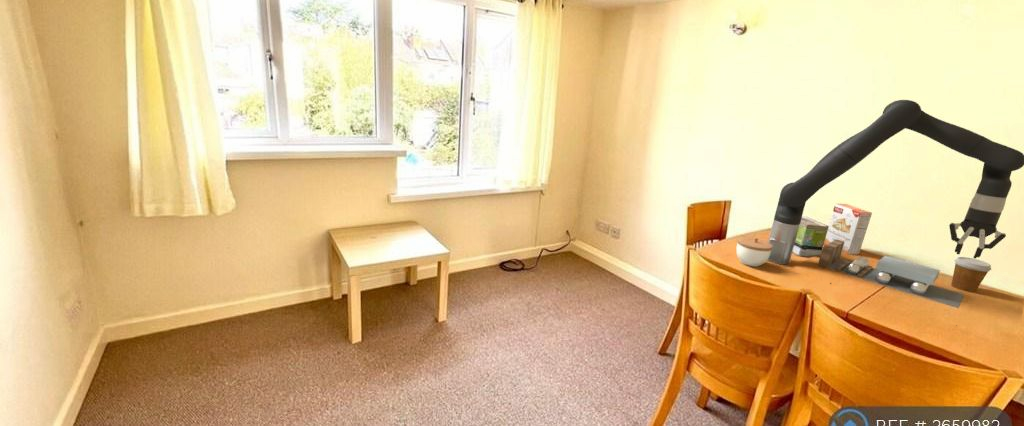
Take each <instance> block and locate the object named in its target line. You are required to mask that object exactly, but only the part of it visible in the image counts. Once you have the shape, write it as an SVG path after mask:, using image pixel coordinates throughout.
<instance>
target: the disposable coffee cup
mask: <svg viewBox="0 0 1024 426" xmlns="http://www.w3.org/2000/svg"><path fill="white" fill-rule="evenodd" d="M954 262H955V263H954V264H955V265H954V269H953V274H952V279H951V285H950V286H951V287H953V288H954V289H957V290H960V291H963V292H967V293H968V292H969V293H975V292H976V291H977V290H978V288H979V286H980V285H981V284H982V282H983V280H984V279H985V277H986V276H987V274H988V273H989V272H990V271H991V270H992V265H991V263H989V262H986V261H984V260H980V259H977V258H976V259H975V258H973V257H965V256H958V257H957V258H956V259H954Z"/></svg>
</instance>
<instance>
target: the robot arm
mask: <svg viewBox="0 0 1024 426" xmlns="http://www.w3.org/2000/svg"><path fill="white" fill-rule="evenodd" d="M905 129H906V130H909V131H912V132H915V133H918V134H920V135H923V136H925V137H927V138H929V139H931V140H933V141H935V142H937V143H938V144H941V145H942V146H945V147H947V148H949V149H951V150H953V151H955V152H957V153H960V154H962V155H963V156H966V157H969V158H973V159H976V160H978V161H979V162H982V163H983V166H982V172H981V180H980V182H979V184H978V186H977V189H976V191H975V194H974V196H973V197H972V199H971V202H970V204H969V207H968V210H967V211H966V214H965V216H964V220H962V221H961V222H959V223H956V222H955V223H954V222H951V223H950V224H949V227H948V228H949V232H950V237H951V238H950V239H951V241H952V242H956V246H955V248H954V252H955V253H956V255H960V254H961V251H962V249H963V247H964V243H965V241H966V240H967V238H968V237H974V238H976V239H978V246H977V248H976V250H975V252H974V255H973V257H972V258H973V259H977V258H980V257H981V255H982V253H983V251H984V250H985V249H989V250H991V249H993V248H995V246H996V245H999V243H1000V242H1002V241H1003V240H1004V239H1005V238H1006V237H1007V234H1006V233H1005V232H1001V231H999V230H998V229H997V226H998V222H999V220H1000V217H1001V215H1002V213H1003V211H1004V208H1005V206H1006V201H1007V197H1008V195H1009V192H1010V190H1011V188H1012V180H1011V176H1012V172H1015V171H1018V170H1020V169H1022V168H1023V167H1024V153H1023V152H1022V151H1020V150H1018V149H1015V148H1013V147H1010V146H1007V145H1004V144H1002V143H999V142H996V141H993V140H991V139H990V138H988V137H986V136H984V135H981V134H979V133H976V132H975V131H972V130H970V129H966V128H965V127H961V126H959V125H956V124H953V123H949V122H947V121H945V120H942V119H939V118H936V117H935V116H933V115H931V114H929V113H927V112H925V111H924V110H922V108H921V106H920V104H919V103H918V102H916V101H914V100H909V99H899V100H895V101H893V102H890V103H889V104H887V105H886V106H885V107H884V109H883V111H882V114H881V115H880V116H879V117H878V118H876V120H875V121H873V122H872V123H871V124H869V126H867V127H866V128H864V129H863V130H861V131H859V132H857V133H855V134H854V135H852V136H851V137H849V138H847V139H846V140H844V141H842V142H841V143H840V144H838V145H837V146H835V147H834V148H833V149H831V150H830V151H829V152H828V153H827V154H825V155H823V157H821V159H820V160H819V161H818V162H817V163H816V164H815V165H814V166H813V167H812V169H810V170H809V171H808V172H807V173H805V175H803V176H802V177H800V178H799V179H798V180H796V181H794V182H789V183H787V184H785V185H784V186H783V187H782V188H781V191H780V194H779V198H778V201H777V205H776V210H775V212H774V213H775V214H774V216H773V221H772V226H771V230H770V233H769V237H768V240H767V242H768V243H770V244H772V246H773V248H772V251H771V254H770V256H769V258H768V260H767V261H768V262H772V263H773V264H774V263H775V264H778V265H789V264H790V262H791V258H792V254H793V252H792V251H793V248H794V244H795V240H796V237H797V233H798V229H799V226H800V222H801V219H802V216H803V214H804V210H805V206H806V203H807V201H808V200H810V198H811V197H812V196H814V195H815V194H816V193H817V192H818V191H819V190H821V189H823V187H824V186H826V185H828V184H830V183H832V182H833V181H835V180H836V179H838V178H839V177H841V176H842V175H844V174H845V173H846V172H848V171H850V170H851V169H852V168H853V167H855V166H856V165H857V164H859V163H860V162H862V161H863V160H864V159H866V158H867V157H868V156H869V155H870V154H871V153H873V152H874V151H875V150H876V149H878V148H879V147H880V146H881V145H882V144H883V143H885V142H886V141H888V140H889V139H890V138H892V137H894V136H895V135H897V134H898V133H900V132H902V131H904V130H905ZM959 227H961V229H962V231H963V232H964V233H963V235H962V236H961V237H960V238H959V237H958V233H957V230H959ZM993 234H995V235H994V239H993V240H991V241H990V242H989V243H986V238H987V237H989V236H991V235H993Z"/></svg>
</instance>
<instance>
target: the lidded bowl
mask: <svg viewBox="0 0 1024 426" xmlns="http://www.w3.org/2000/svg"><path fill="white" fill-rule="evenodd" d="M736 242H737V243H736V249H735V250H736V251H735V253H736V255H737V258H738V259H739V261H740V262H741V263H742V265H745V266H750V267H755V268H756V267H760V266H761V265H764V264H765V263H766V262H767V261H768V258H769V256H770V254H771V251H772V248H773V246H772V244H770V243H768V241H767V240H763V239H759V238H758V237H750V236H749V237H748V236H745V237H744V236H743V237H742V236H741V237H738V238H737V241H736Z"/></svg>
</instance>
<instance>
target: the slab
mask: <svg viewBox="0 0 1024 426" xmlns="http://www.w3.org/2000/svg"><path fill="white" fill-rule="evenodd" d="M875 269H877V270H880V271H884V272H887V273H891V274H894V275H898V276H901V277H905V278H908V279H912V280H915V281H919V282H922V283H926V284H929V285H933V286H934V283H935V282H936V280H937V279H938V276H939V274H940V272H941V269H937V268H933V267H930V266H925V265H923V264H922V265H921V264H918V263H914V262H911V261H906V260H903V259H900V258H895V257H892V256H889V255H884V256H883V257H881V259H879V260H878V261H877V263H876V266H875Z"/></svg>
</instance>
